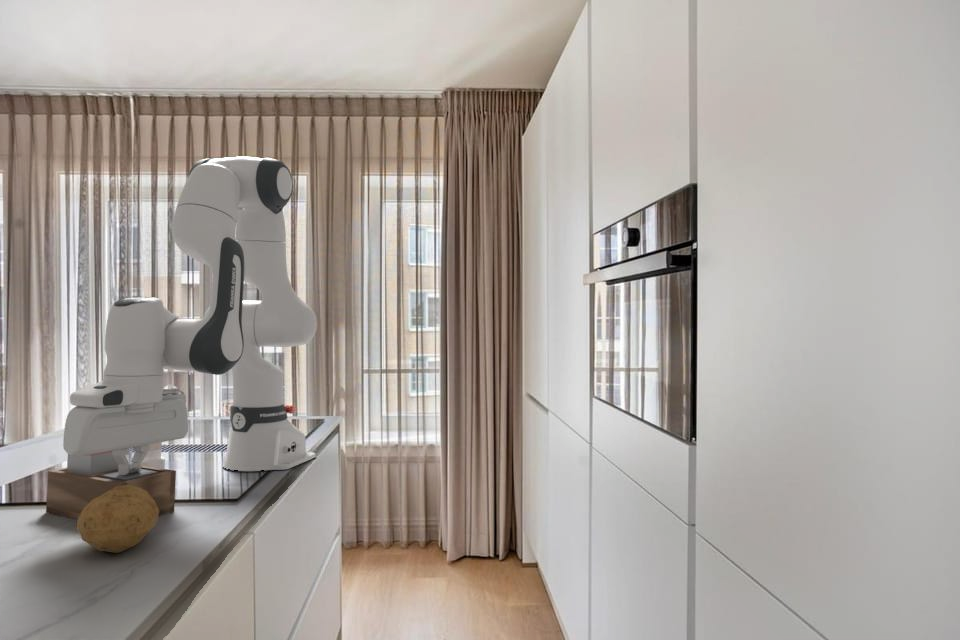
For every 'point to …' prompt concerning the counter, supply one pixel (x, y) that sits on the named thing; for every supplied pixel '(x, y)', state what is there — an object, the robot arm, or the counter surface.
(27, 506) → the counter surface
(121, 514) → the potato
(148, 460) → the pepper shaker
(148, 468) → the wooden divided tray
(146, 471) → the grey cube
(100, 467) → the red and grey cube
